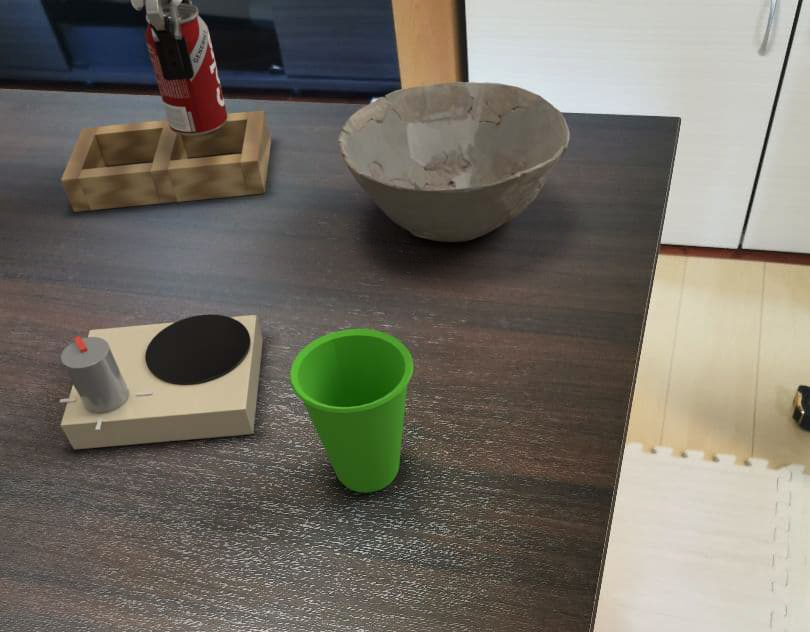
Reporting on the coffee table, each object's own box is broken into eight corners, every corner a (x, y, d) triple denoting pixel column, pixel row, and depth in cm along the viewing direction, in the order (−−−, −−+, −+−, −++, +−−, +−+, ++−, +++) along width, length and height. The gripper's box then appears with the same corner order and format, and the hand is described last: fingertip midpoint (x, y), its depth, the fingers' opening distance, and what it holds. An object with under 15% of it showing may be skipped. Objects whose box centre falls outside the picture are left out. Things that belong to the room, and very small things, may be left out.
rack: (74, 212, 99) (60, 179, 96) (94, 159, 107) (82, 128, 104) (264, 193, 98) (257, 160, 95) (271, 142, 106) (264, 109, 103)
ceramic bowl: (571, 276, 84) (579, 181, 76) (342, 287, 86) (327, 195, 78) (554, 163, 97) (559, 72, 89) (357, 175, 99) (346, 87, 91)
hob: (64, 459, 73) (49, 433, 71) (95, 355, 82) (82, 328, 79) (252, 443, 73) (244, 416, 70) (263, 339, 81) (256, 312, 79)
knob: (135, 400, 73) (114, 352, 68) (91, 419, 72) (67, 371, 67) (120, 376, 75) (98, 327, 71) (77, 394, 74) (53, 345, 70)
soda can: (190, 147, 95) (160, 31, 86) (160, 128, 98) (128, 14, 89) (240, 126, 98) (215, 11, 88) (208, 108, 101) (182, -5, 92)
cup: (336, 527, 66) (313, 426, 57) (299, 454, 71) (273, 351, 63) (440, 488, 68) (433, 383, 59) (396, 419, 73) (383, 314, 64)
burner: (138, 389, 74) (137, 387, 73) (154, 321, 80) (153, 319, 79) (246, 380, 73) (245, 377, 73) (254, 312, 79) (253, 309, 79)
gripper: (110, -160, 84) (161, 34, 98) (75, -109, 73) (137, 101, 87) (185, -166, 84) (225, 29, 98) (160, -117, 73) (209, 96, 87)
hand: (183, 62), depth 92 cm, fingers closed on soda can, 6 cm apart
